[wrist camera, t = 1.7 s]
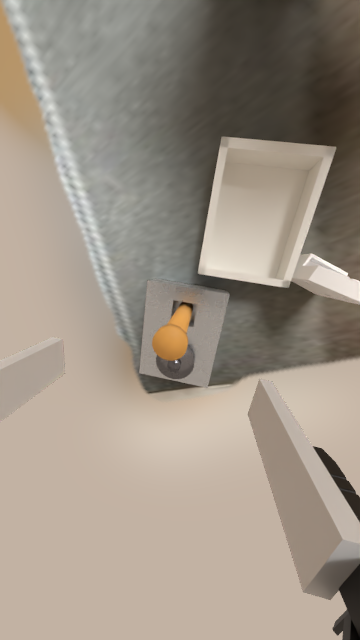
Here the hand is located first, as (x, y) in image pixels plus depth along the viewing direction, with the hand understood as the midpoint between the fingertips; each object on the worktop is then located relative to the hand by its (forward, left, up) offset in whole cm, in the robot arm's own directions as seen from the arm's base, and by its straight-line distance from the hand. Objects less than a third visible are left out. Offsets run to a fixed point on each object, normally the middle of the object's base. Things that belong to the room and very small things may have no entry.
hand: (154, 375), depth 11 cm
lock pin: (0, 0, -19) cm, 19 cm away
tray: (-14, +8, -20) cm, 26 cm away
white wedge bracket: (-9, +18, -21) cm, 29 cm away
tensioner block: (+4, 0, -20) cm, 21 cm away
